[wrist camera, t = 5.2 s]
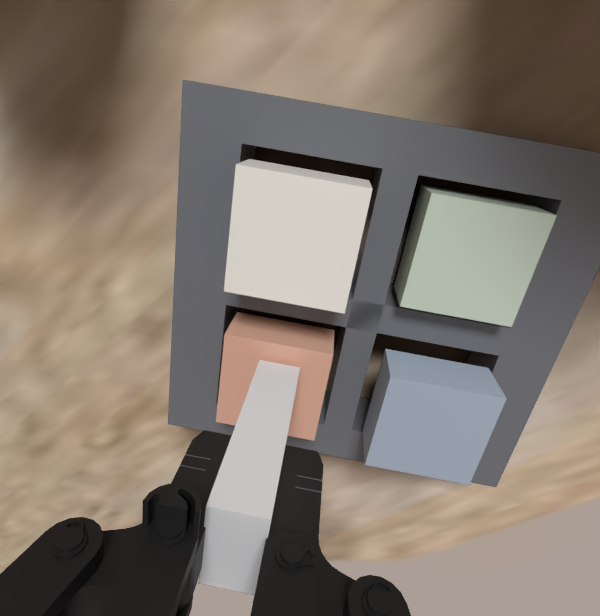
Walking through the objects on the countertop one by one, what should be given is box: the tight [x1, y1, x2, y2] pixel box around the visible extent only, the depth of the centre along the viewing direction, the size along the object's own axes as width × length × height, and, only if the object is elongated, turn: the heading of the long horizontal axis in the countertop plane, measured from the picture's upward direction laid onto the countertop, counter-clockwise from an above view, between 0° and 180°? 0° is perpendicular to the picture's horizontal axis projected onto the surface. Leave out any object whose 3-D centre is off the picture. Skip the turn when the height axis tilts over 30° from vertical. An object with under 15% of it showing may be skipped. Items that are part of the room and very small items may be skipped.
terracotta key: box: [216, 312, 334, 441], centre depth 18 cm, size 4×4×3 cm
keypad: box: [168, 80, 600, 487], centre depth 18 cm, size 15×14×3 cm
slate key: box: [363, 349, 507, 485], centre depth 17 cm, size 4×4×3 cm
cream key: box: [224, 159, 373, 314], centre depth 15 cm, size 4×4×3 cm
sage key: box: [394, 185, 557, 327], centre depth 16 cm, size 4×4×3 cm
